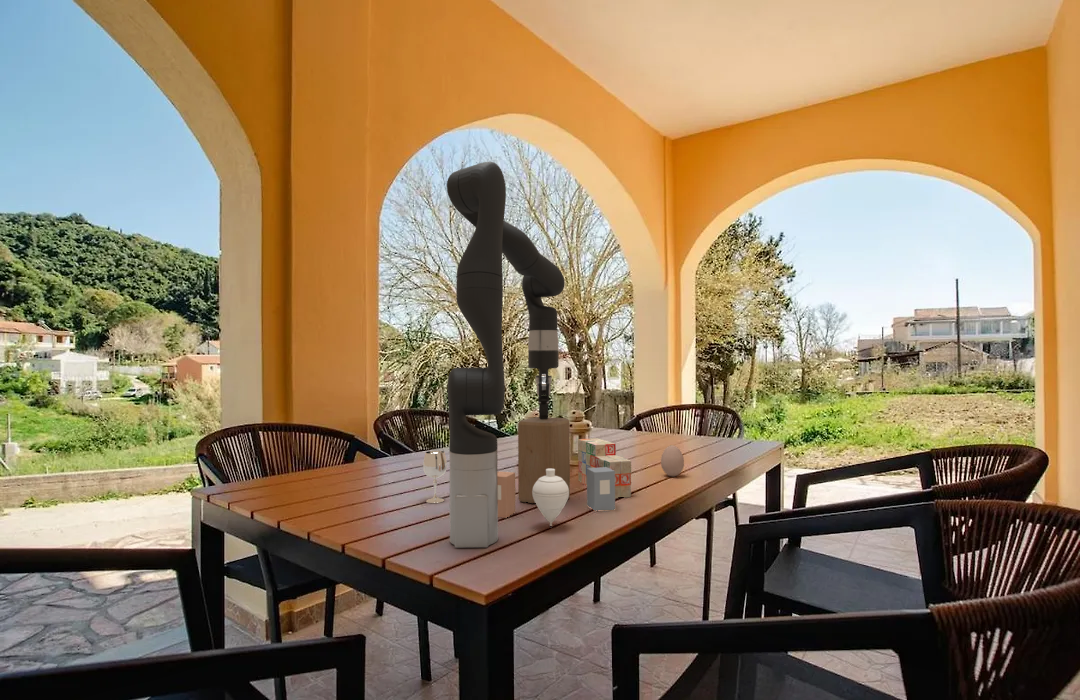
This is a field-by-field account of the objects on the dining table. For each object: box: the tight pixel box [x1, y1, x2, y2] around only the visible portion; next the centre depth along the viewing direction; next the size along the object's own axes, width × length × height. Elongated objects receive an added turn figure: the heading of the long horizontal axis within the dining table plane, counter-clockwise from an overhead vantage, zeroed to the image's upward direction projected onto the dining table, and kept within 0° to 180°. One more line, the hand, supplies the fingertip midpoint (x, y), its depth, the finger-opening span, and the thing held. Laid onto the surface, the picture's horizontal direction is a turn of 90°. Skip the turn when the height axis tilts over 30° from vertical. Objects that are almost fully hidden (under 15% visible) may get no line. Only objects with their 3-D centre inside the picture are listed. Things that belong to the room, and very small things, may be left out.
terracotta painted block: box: [497, 470, 516, 519], centre depth 125 cm, size 5×5×9 cm
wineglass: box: [422, 450, 448, 504], centre depth 137 cm, size 6×6×12 cm
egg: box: [660, 444, 685, 477], centre depth 163 cm, size 7×7×9 cm
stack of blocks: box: [577, 437, 632, 499], centre depth 148 cm, size 21×6×12 cm, turn 17°
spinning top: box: [532, 468, 570, 527], centre depth 115 cm, size 8×8×12 cm
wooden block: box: [517, 416, 571, 504], centre depth 137 cm, size 10×10×20 cm
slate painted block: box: [586, 467, 616, 511], centre depth 129 cm, size 5×5×9 cm
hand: (543, 419), depth 137 cm, fingers closed
